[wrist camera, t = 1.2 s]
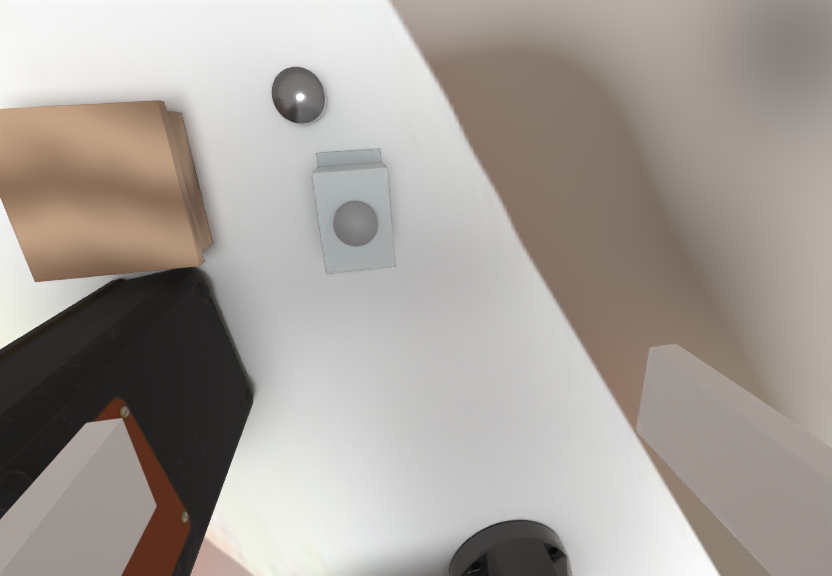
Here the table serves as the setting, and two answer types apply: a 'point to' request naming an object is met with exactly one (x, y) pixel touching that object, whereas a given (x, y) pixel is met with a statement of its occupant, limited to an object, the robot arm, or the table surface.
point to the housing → (354, 210)
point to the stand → (101, 189)
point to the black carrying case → (132, 402)
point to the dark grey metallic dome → (299, 95)
